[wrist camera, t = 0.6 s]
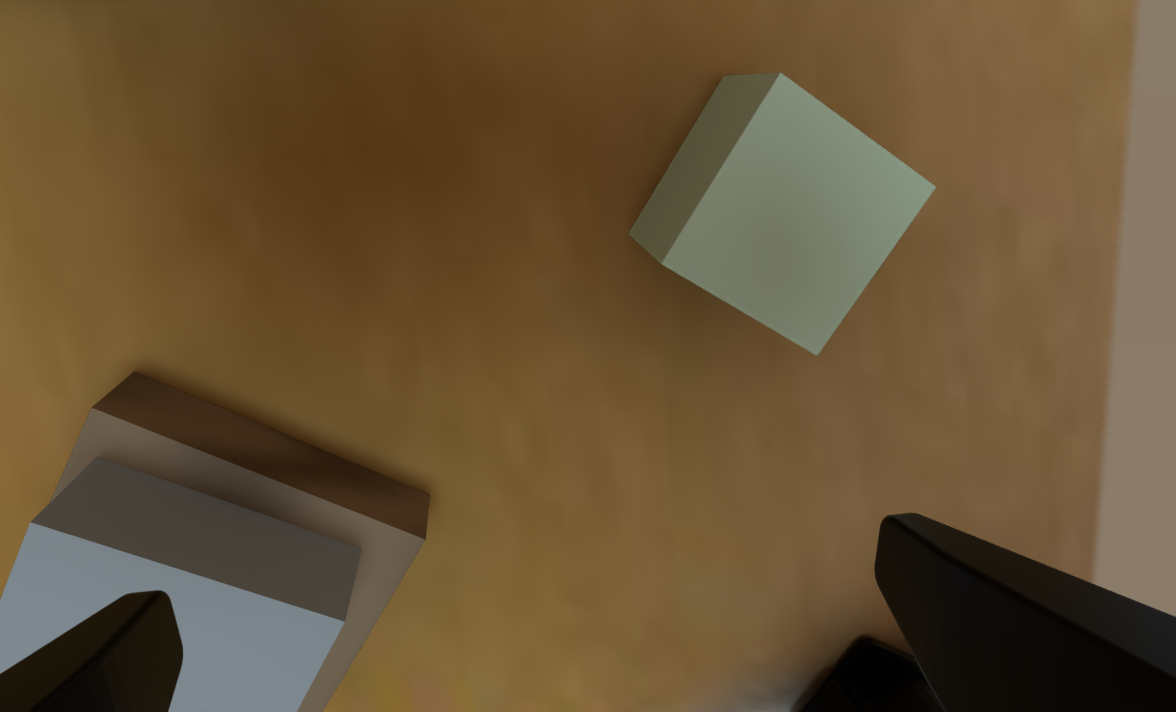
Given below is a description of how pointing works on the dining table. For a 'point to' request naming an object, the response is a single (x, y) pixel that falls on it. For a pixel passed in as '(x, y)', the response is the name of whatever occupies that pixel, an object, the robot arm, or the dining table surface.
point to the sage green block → (779, 207)
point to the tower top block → (185, 585)
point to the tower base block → (265, 491)
